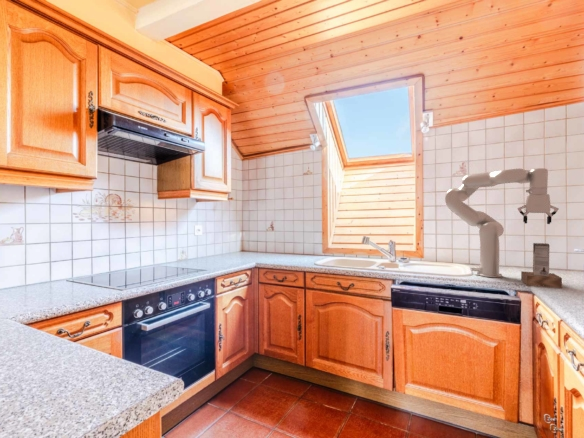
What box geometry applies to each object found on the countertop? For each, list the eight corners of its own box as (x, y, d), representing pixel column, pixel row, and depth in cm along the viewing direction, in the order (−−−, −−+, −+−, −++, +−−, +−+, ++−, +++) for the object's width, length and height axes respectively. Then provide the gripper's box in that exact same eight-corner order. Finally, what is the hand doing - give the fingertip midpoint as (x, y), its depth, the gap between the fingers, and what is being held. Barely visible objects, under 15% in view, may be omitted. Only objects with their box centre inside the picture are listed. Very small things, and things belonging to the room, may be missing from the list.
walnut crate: (526, 285, 158) (526, 275, 158) (521, 280, 169) (521, 271, 169) (561, 288, 151) (561, 278, 151) (553, 282, 163) (553, 273, 163)
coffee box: (532, 272, 166) (532, 242, 166) (547, 273, 162) (548, 243, 162) (533, 275, 158) (533, 244, 158) (549, 276, 155) (550, 244, 154)
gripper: (519, 191, 166) (518, 223, 166) (560, 191, 157) (559, 224, 158) (517, 192, 172) (516, 222, 173) (557, 191, 164) (556, 224, 164)
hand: (536, 223), depth 165 cm, fingers open, 9 cm apart
